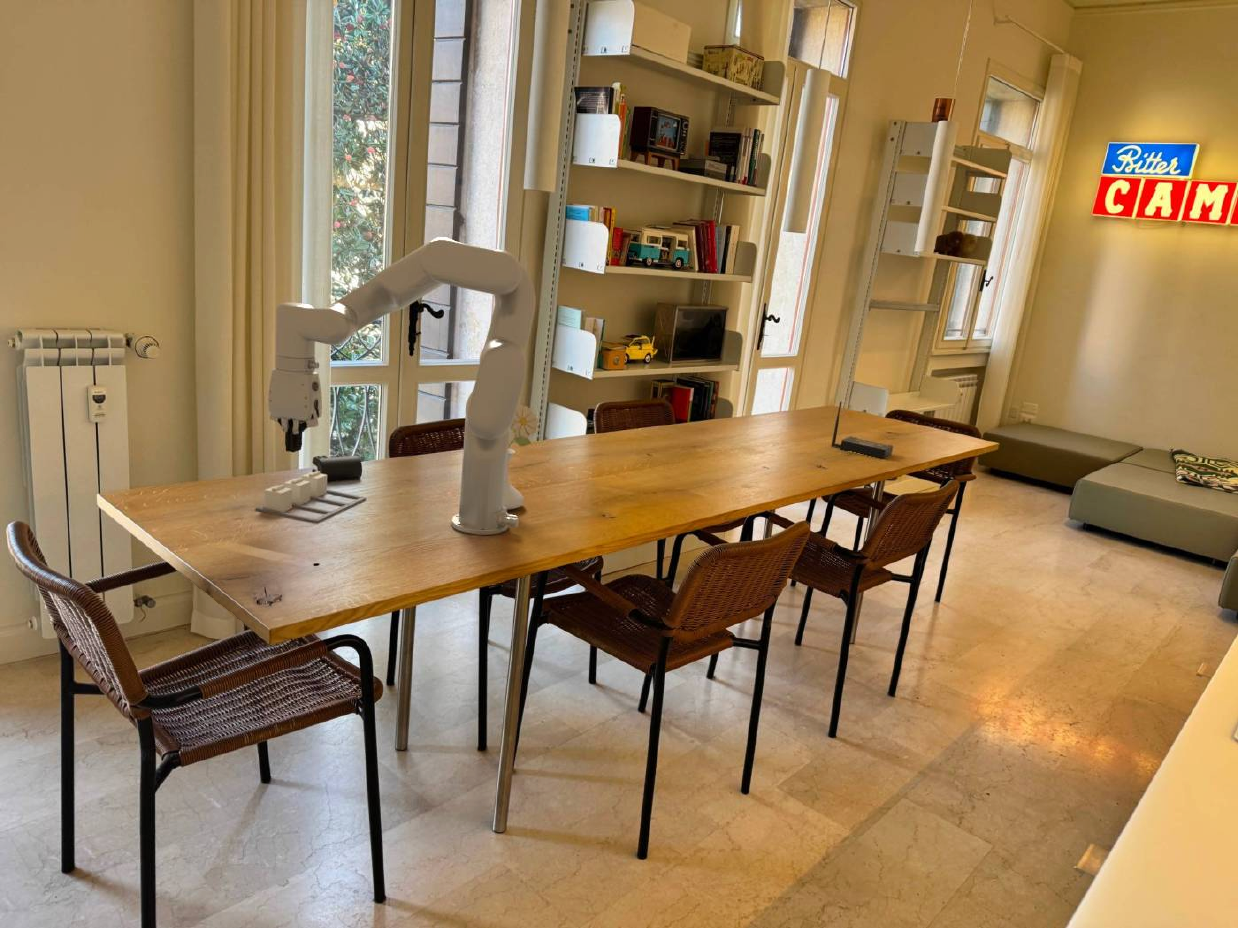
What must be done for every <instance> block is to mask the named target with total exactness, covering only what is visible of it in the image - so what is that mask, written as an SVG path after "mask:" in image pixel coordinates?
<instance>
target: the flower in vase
mask: <svg viewBox="0 0 1238 928" xmlns="http://www.w3.org/2000/svg"><path fill="white" fill-rule="evenodd" d="M538 427H539V420H538V418H537V415H536V413H534V411H533V409H532V408H530V407H528V406H527V405H525V406H523V405H522V404H518V406H517V409H516V412H515V416H514V419H513V422H512V425H511V427H510V429H509V430H511V432H512V434H513V435H514V437H513V438H512V441H510V443H509V442H508V453H507V463H506V475H505V487H504V499H503V507H507V511H508V510H514V509H517V508H520V507H522V506H523V504H525V498H524V496H523V495H522V493H521V492H520V491H519V490H518V489H516V488H515V486H513V485H512V484H511V483H510V481H509V478H508V470H509V466H510V465H509V464H510V462H511V459H512V457H513V455H514V454H515V453H516V451H515V450H514V449H511V448H510V447H511V446H512V445H513V443H514V442H516V444H517V445H518V446H520V447H526V446H529V445H531V444H532V442H531V440H530V439H529V437H530V436H533V435H534V434H536V433H537V429H538Z"/></svg>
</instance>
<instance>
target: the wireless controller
mask: <svg viewBox="0 0 1238 928" xmlns="http://www.w3.org/2000/svg"><path fill="white" fill-rule="evenodd" d="M841 407H842V401H839V407H838V412H837V415H836V416H837V417H836V418H835V424H834V429H833V434H832V435H833V436H832V441H831V444H830V445H831V446H830V447H832V446H834V447H836V448H838V449H839V450H840V451H842V450H844V451H843V452H847V451H852V452H856V453H860V454H864V455H867V456H866V457H869V456H871V457H870V458H873V457H875V458H874V459H878V458H879V460H882V459H885V460H886V459H888V458H889V457H888V456H890V455H891V454H893V450H894V445H891V444H884V443H879V442H876V441H874V442H873V441H871V440H870V441H869V440H867V439H866V440H865V439H862V438H861V439H860V438H858V437H854V436H848V437H846V438H844V439H842V440H841V442H840V444H839V443H836V440H837V435H838V434H837V433H838V429H839V424H840V423H839V422H840V413H841ZM856 453H855V454H856ZM860 454H859V455H860ZM864 455H863V456H864ZM891 456H892V455H891ZM891 456H890V457H891ZM887 457H888V458H887Z"/></svg>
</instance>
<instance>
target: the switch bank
mask: <svg viewBox="0 0 1238 928" xmlns="http://www.w3.org/2000/svg"><path fill="white" fill-rule="evenodd" d="M326 494H329V495H335V496H340V497H344V498H351V499H355V500H353V501H350V502H349V503H348V502H343V501H340V500H333V499H328V498H323V497H321V496H319V497H315V496H310V501H311V500H312V501H317V502H321V503H326V504H327V503H328V504H332V505H337V506H340V507H338V508H335V509H334V510H326V509H322V508H317V507H314V506H313V507H312V506H309V505H308V506H307V505H304V504H301V505H299V504H294V503H292V508H294V509H295V508H296V509H299V510H306V511H309V512H314V513H320V514H323V515H321V516H319V517H317V518H314V517H309V516H303V515H299V514H294V513H289V512H286V511H285V512H281V511H276V510H271V509H267V508H264V503H263V504H261V505H258V506H256V507H255V509H254V510H255V511H259V512H263V513H268V514H271V515H276V516H281V517H286V518H291V519H296V520H300V521H305V522H309V523H313V524H320V523H321V522H323V521H326V520H328V519H330V518H331V517H333V516H336V515H338V514H340V513H342V512H345V511H346V510H348V509H350V508H353V507H354V506H357V505H359V504H361V503H363V502H364V501H367V497H364V496H362V495H361V496H360V495H357V494H356V495H355V494H351V493H345V492H341V491H336V490H331V489H327V493H326Z"/></svg>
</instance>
